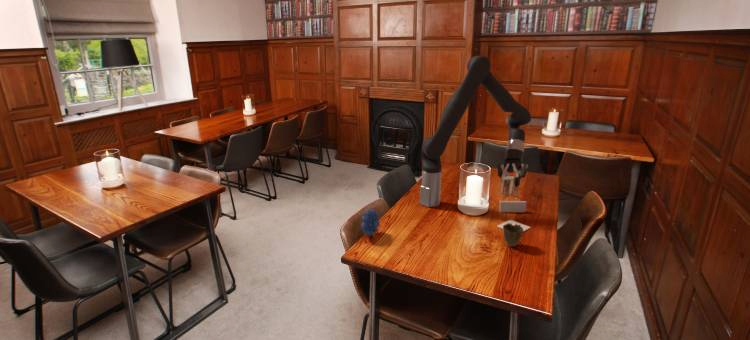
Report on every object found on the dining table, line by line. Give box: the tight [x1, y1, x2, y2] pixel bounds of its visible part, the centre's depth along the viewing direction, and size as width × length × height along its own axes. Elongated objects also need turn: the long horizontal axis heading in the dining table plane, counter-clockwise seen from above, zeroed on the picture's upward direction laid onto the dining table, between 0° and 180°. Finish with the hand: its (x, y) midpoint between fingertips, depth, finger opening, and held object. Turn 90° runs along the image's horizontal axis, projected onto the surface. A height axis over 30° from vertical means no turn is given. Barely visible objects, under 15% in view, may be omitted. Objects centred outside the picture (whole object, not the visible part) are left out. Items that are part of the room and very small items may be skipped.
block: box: [498, 200, 527, 213], centre depth 188 cm, size 2×12×5 cm, turn 89°
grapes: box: [360, 208, 381, 237], centre depth 164 cm, size 12×7×12 cm, turn 145°
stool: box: [499, 175, 520, 199], centre depth 177 cm, size 10×6×10 cm, turn 139°
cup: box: [502, 223, 524, 248], centre depth 156 cm, size 8×7×8 cm
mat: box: [496, 219, 531, 233], centre depth 173 cm, size 10×10×1 cm
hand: (509, 186), depth 177 cm, fingers closed on stool, 5 cm apart
